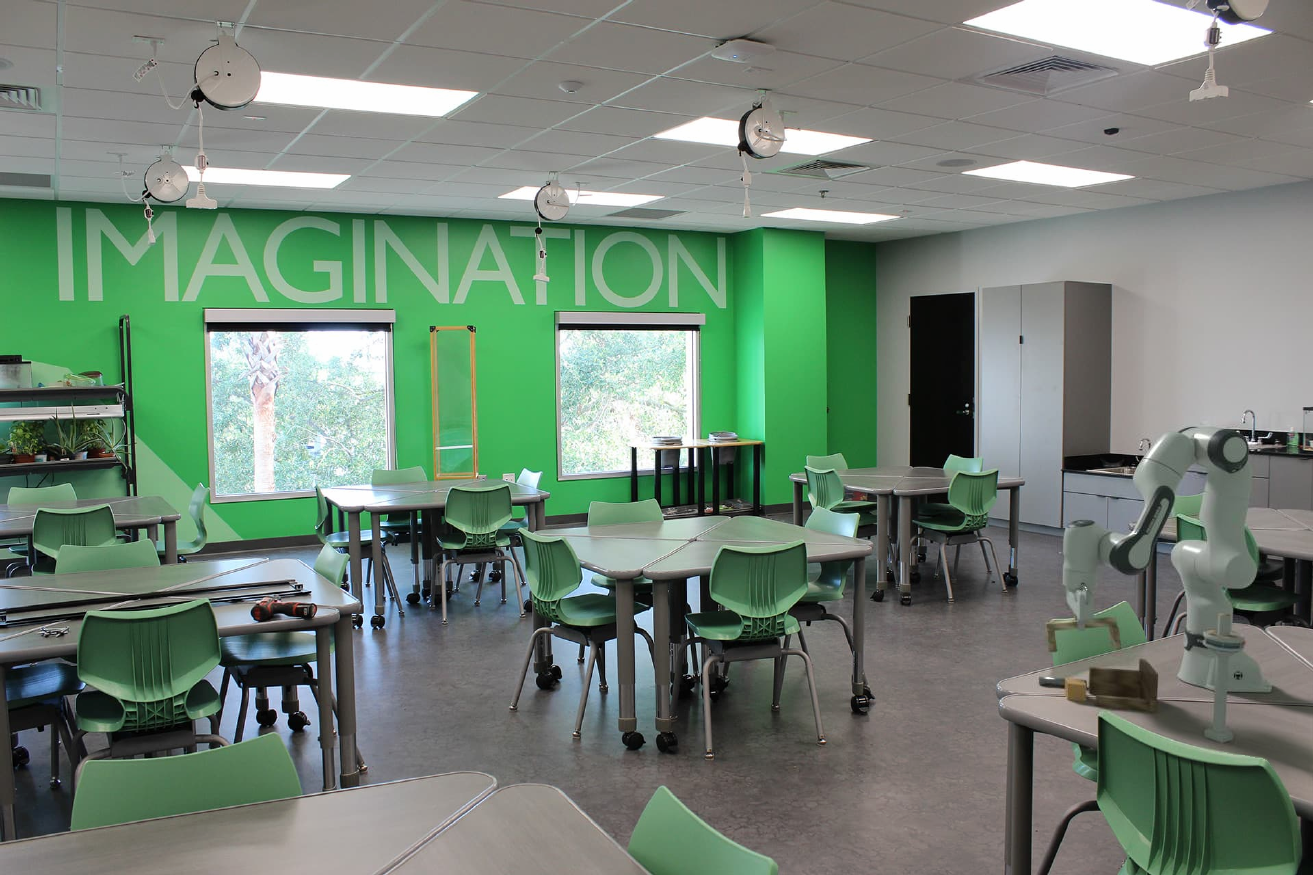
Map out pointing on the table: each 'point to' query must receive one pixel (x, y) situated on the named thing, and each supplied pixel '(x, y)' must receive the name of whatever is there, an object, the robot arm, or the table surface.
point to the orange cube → (1075, 689)
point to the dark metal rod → (1054, 681)
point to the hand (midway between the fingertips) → (1079, 628)
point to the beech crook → (1096, 622)
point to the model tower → (1221, 672)
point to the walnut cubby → (1125, 687)
